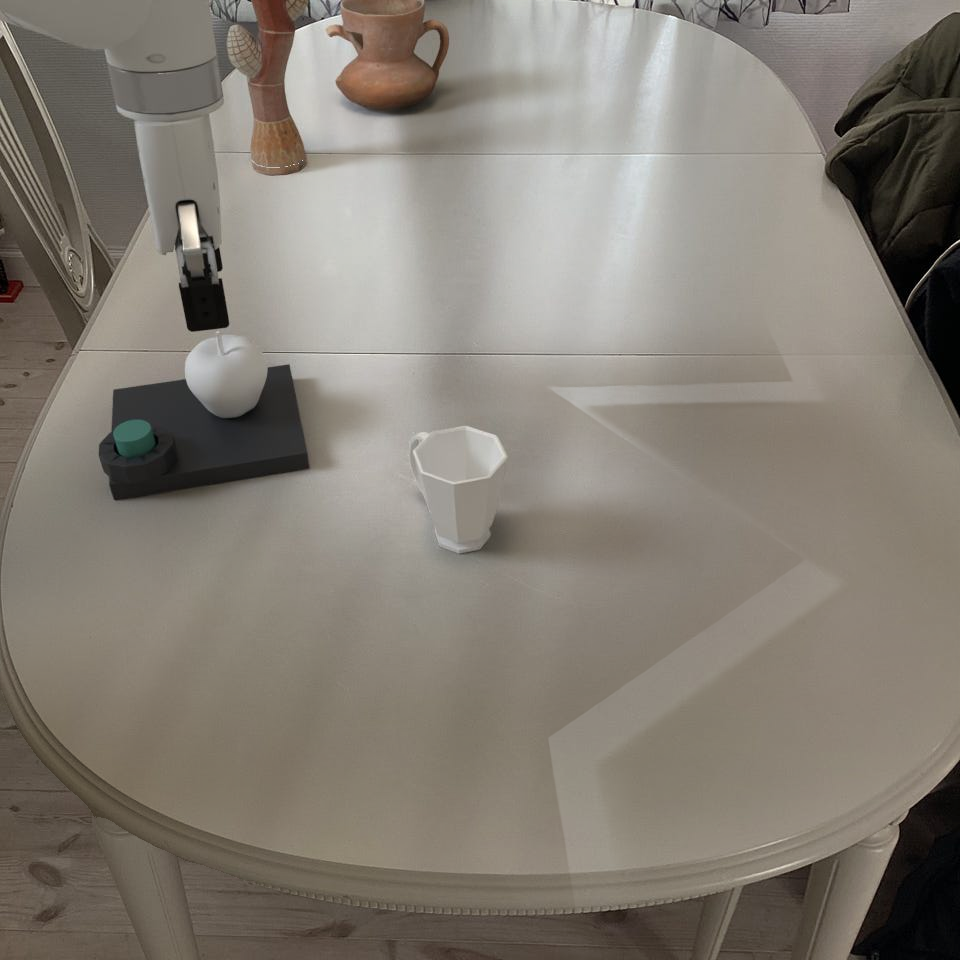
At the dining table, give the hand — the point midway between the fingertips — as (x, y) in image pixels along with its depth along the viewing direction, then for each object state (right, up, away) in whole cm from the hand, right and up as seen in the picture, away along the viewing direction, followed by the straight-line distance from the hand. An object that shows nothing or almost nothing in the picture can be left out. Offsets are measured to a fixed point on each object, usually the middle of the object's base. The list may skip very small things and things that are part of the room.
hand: (206, 298), depth 83 cm
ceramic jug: (+9, +43, +72) cm, 84 cm away
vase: (-3, +27, +54) cm, 60 cm away
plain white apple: (+1, -8, +7) cm, 11 cm away
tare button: (-6, -12, 0) cm, 13 cm away
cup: (+20, -18, -3) cm, 27 cm away
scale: (-2, -11, +7) cm, 13 cm away
